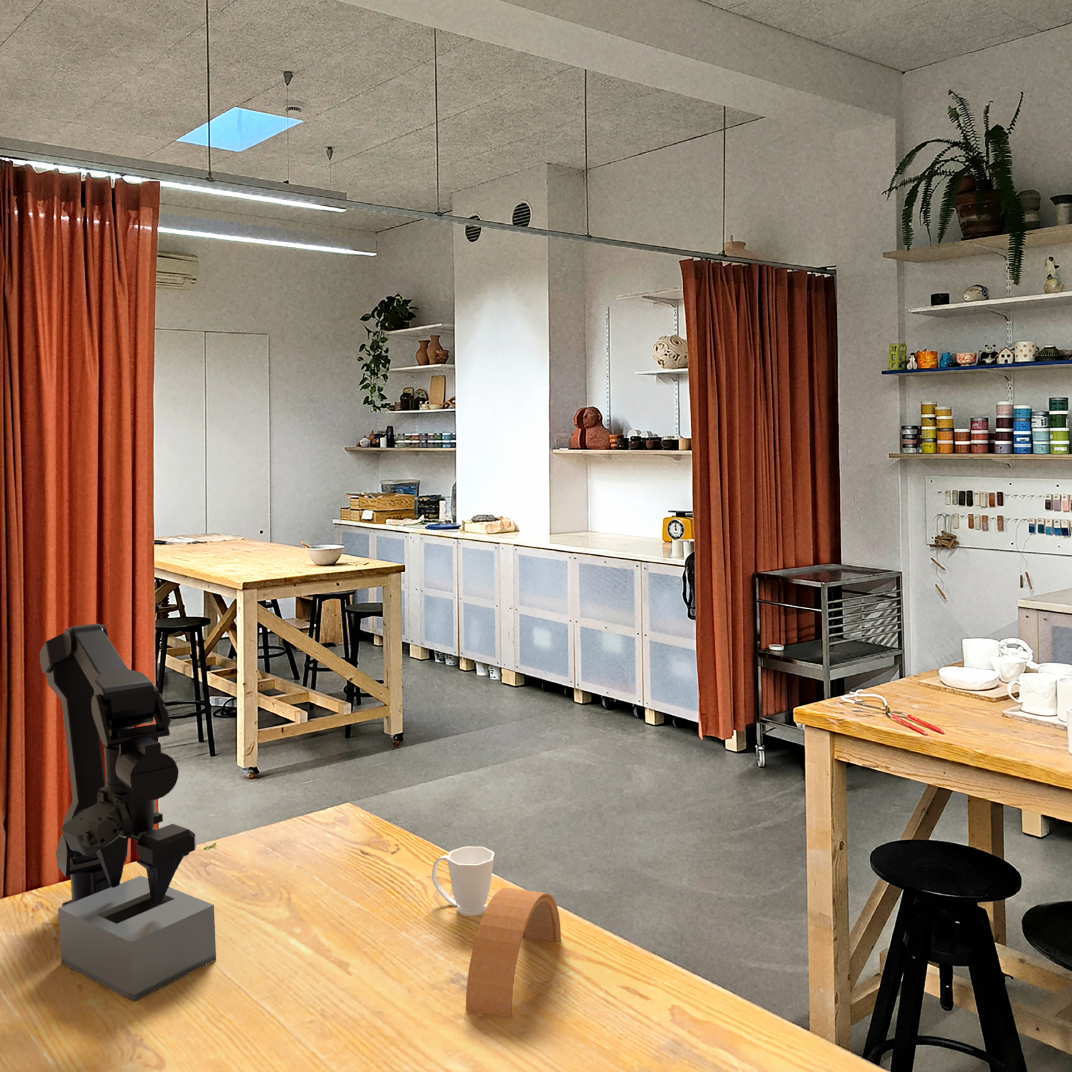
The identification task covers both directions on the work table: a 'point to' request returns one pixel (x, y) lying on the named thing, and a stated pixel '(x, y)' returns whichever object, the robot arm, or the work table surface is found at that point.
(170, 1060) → the work table surface
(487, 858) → the cup
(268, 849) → the work table surface
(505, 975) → the arch
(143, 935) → the box
